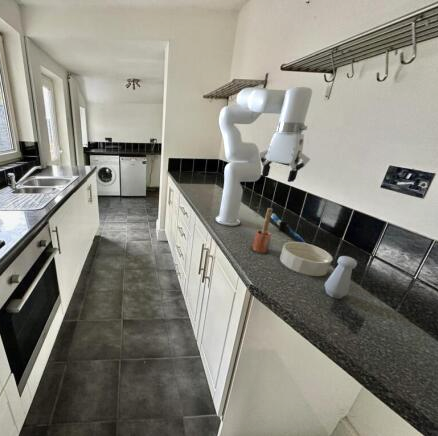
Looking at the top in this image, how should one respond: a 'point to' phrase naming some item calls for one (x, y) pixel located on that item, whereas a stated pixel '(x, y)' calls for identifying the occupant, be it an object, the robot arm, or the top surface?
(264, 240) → the pot
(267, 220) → the wooden spoon
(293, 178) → the robot arm
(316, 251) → the bowl
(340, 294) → the salt shaker
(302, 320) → the top surface
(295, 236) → the knife
